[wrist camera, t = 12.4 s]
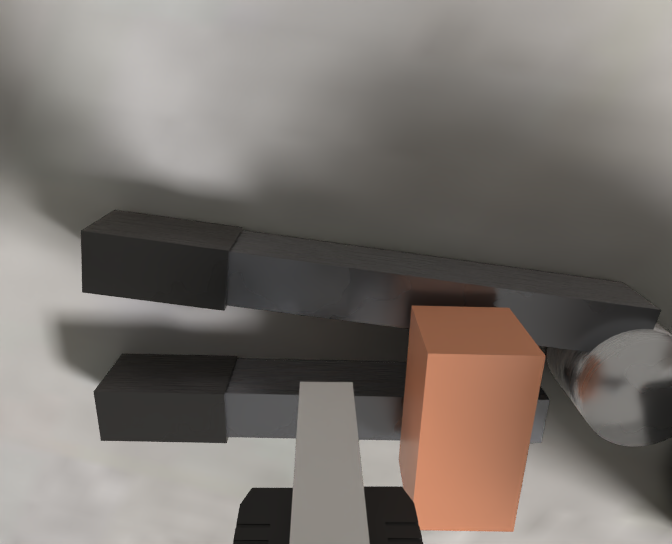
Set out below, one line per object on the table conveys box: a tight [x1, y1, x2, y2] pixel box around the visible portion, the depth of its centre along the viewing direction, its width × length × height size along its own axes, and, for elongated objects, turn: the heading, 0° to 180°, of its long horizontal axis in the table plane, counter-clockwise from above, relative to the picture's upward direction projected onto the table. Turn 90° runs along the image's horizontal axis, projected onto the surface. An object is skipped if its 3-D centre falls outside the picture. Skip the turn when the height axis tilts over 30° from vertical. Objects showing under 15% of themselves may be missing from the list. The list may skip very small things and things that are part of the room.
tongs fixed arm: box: [94, 354, 550, 443], centre depth 20 cm, size 16×2×3 cm, turn 88°
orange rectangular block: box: [399, 306, 546, 532], centre depth 16 cm, size 3×6×3 cm, turn 178°
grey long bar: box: [81, 210, 672, 447], centre depth 18 cm, size 20×5×3 cm, turn 82°
